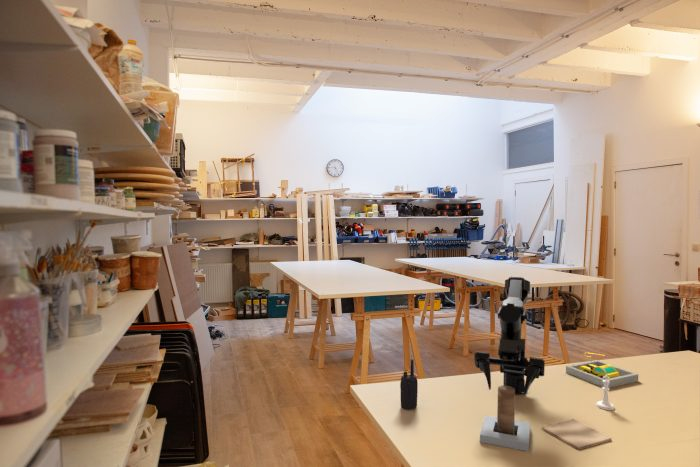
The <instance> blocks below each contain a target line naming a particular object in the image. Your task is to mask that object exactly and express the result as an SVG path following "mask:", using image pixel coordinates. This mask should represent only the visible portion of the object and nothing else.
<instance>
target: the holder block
mask: <svg viewBox="0 0 700 467" xmlns="http://www.w3.org/2000/svg"><path fill="white" fill-rule="evenodd" d="M496 430H497V417H496V416H492V415H491V416H490V415H484V419H483V422H482V425H481V430H480V432H479V442H480V443H483V444H488V445H494V446H499V447H502V448H503V447H504V448H510V449H515V450H520V451H526V452H529V451H530V437H531V436H530V435H531V423H530V422H525V421H521V420H515V423H514V433H515V434H516V435H515V434H514V435H509V434H503V433H498V432H497V431H496Z"/></svg>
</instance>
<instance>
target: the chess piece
mask: <svg viewBox="0 0 700 467" xmlns="http://www.w3.org/2000/svg"><path fill="white" fill-rule="evenodd" d="M603 378H605V380H603V381H602V382H603V385H604V387H601V390H603V396H602V400H598V401H597V402H596V407H597V408H599V409H601V410H605V411H606V410H607V411H613V410H615V405H614V404H613V403H611V402H610V400H609V392H608V391H610V388H608V386H609V383H610V381H608V380H607V379H609V377H607V375H605V377H603Z"/></svg>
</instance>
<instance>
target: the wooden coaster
mask: <svg viewBox="0 0 700 467" xmlns="http://www.w3.org/2000/svg"><path fill="white" fill-rule="evenodd" d="M541 429H542V430H543V431H544V432H546V433H549V434H550V435H551V436H553V437H555V438H556V439H559V440H560V441H562V442H565V443H566V444H567V445H570V446H571V447H573V448H575V449H576V450H578V451H579V450H582V449H583V450H584V449H586V448H590V447H592V446H596V445H600V444H604V443H607V442H610V441H612V437H610V436H609V435H607V434H605V433H603V432H600V431H598V430H596V429H594V428H592V427H590V426H589V425H587V424H584V423H582V422H580V421H578V420H576V419H574V418H572V419H568V420H564V421H560V422H557V423H556V422H555V423H552V424H548V425H543V426H542V427H541Z"/></svg>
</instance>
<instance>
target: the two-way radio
mask: <svg viewBox="0 0 700 467" xmlns="http://www.w3.org/2000/svg"><path fill="white" fill-rule="evenodd" d="M414 366H415V365H414V359H412V358H411V359H410V374H408V372H407V371H403V375H402V376H401V378H400V383H399V386H400V387H399V388H400V408H401V409H402V410H414V409H416V408H417V407H418V393H419V392H418V378H417V376H416V375H415V373H414V372H415V370H414Z"/></svg>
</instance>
